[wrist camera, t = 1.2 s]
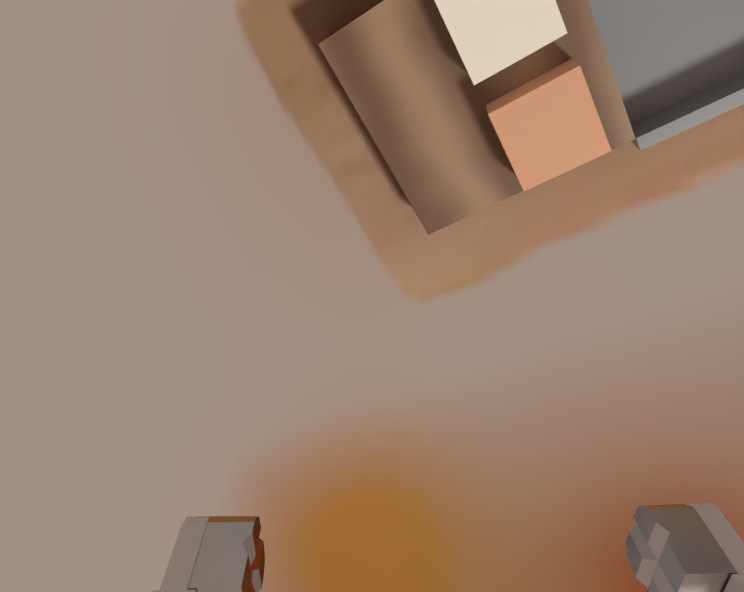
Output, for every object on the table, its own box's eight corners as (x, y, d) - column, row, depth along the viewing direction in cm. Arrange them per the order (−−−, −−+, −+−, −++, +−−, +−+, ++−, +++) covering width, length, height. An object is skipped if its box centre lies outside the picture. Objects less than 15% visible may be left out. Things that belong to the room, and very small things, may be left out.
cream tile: (523, -72, 31) (528, -73, 29) (560, 27, 34) (567, 33, 32) (431, -12, 33) (430, -9, 31) (472, 77, 36) (474, 85, 34)
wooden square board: (542, -107, 32) (549, -111, 30) (623, 126, 39) (635, 138, 37) (326, 38, 38) (318, 44, 36) (429, 218, 45) (428, 234, 43)
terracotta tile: (572, 58, 34) (579, 65, 32) (602, 139, 37) (611, 150, 35) (485, 104, 37) (487, 114, 35) (519, 178, 39) (523, 191, 37)
